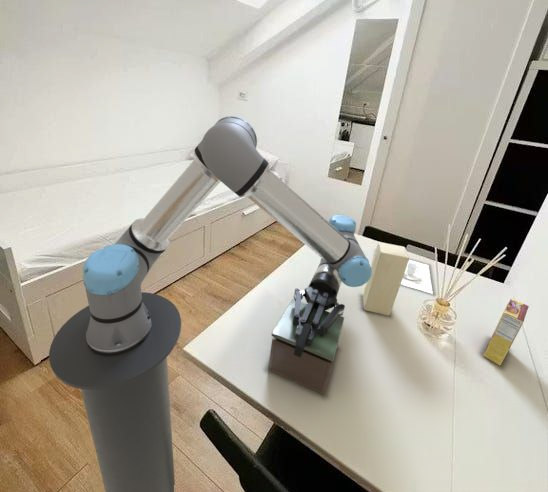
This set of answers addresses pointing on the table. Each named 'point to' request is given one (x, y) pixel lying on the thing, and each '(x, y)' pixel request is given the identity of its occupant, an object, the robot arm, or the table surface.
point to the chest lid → (320, 344)
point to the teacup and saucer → (417, 276)
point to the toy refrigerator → (385, 278)
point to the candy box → (506, 331)
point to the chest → (300, 366)
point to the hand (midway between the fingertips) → (298, 351)
